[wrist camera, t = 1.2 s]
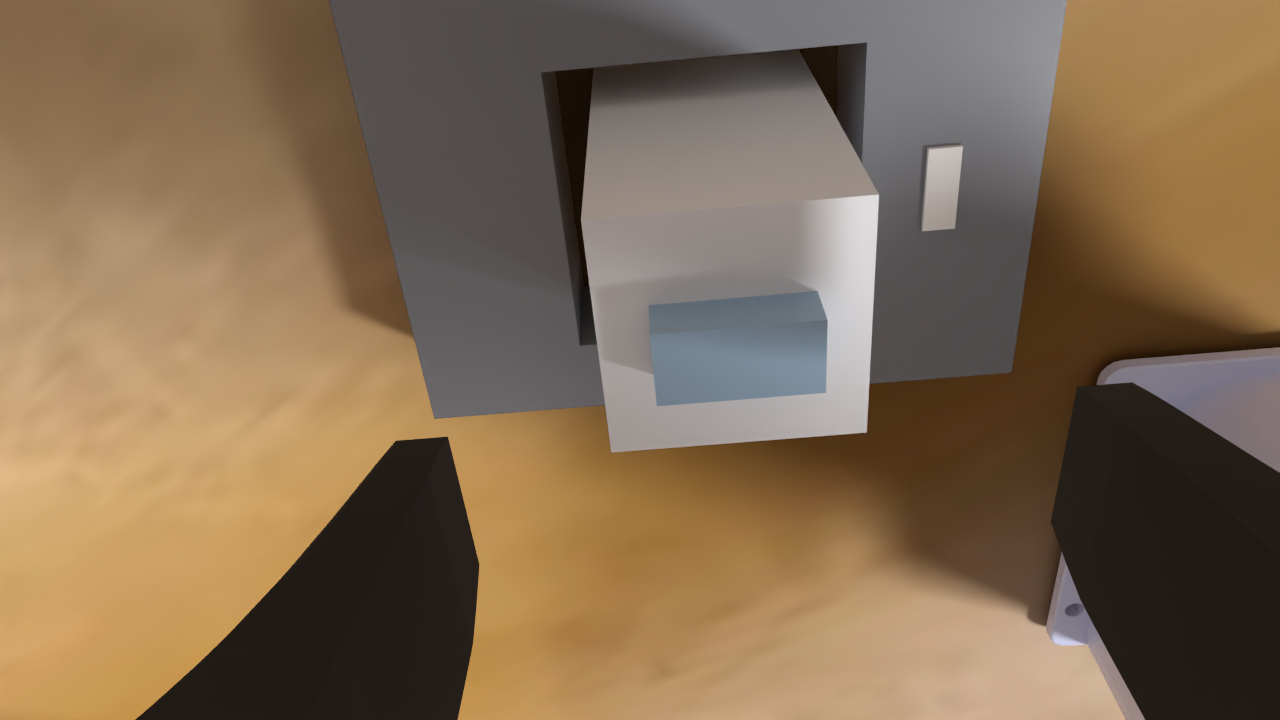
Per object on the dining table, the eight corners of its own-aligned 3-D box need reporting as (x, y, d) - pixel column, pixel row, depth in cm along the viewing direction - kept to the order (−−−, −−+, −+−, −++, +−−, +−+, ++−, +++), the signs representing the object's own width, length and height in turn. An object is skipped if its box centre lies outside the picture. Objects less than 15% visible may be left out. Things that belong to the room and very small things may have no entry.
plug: (798, 236, 21) (877, 465, 14) (614, 251, 21) (610, 485, 15) (798, 49, 19) (893, 219, 12) (593, 68, 19) (578, 246, 12)
